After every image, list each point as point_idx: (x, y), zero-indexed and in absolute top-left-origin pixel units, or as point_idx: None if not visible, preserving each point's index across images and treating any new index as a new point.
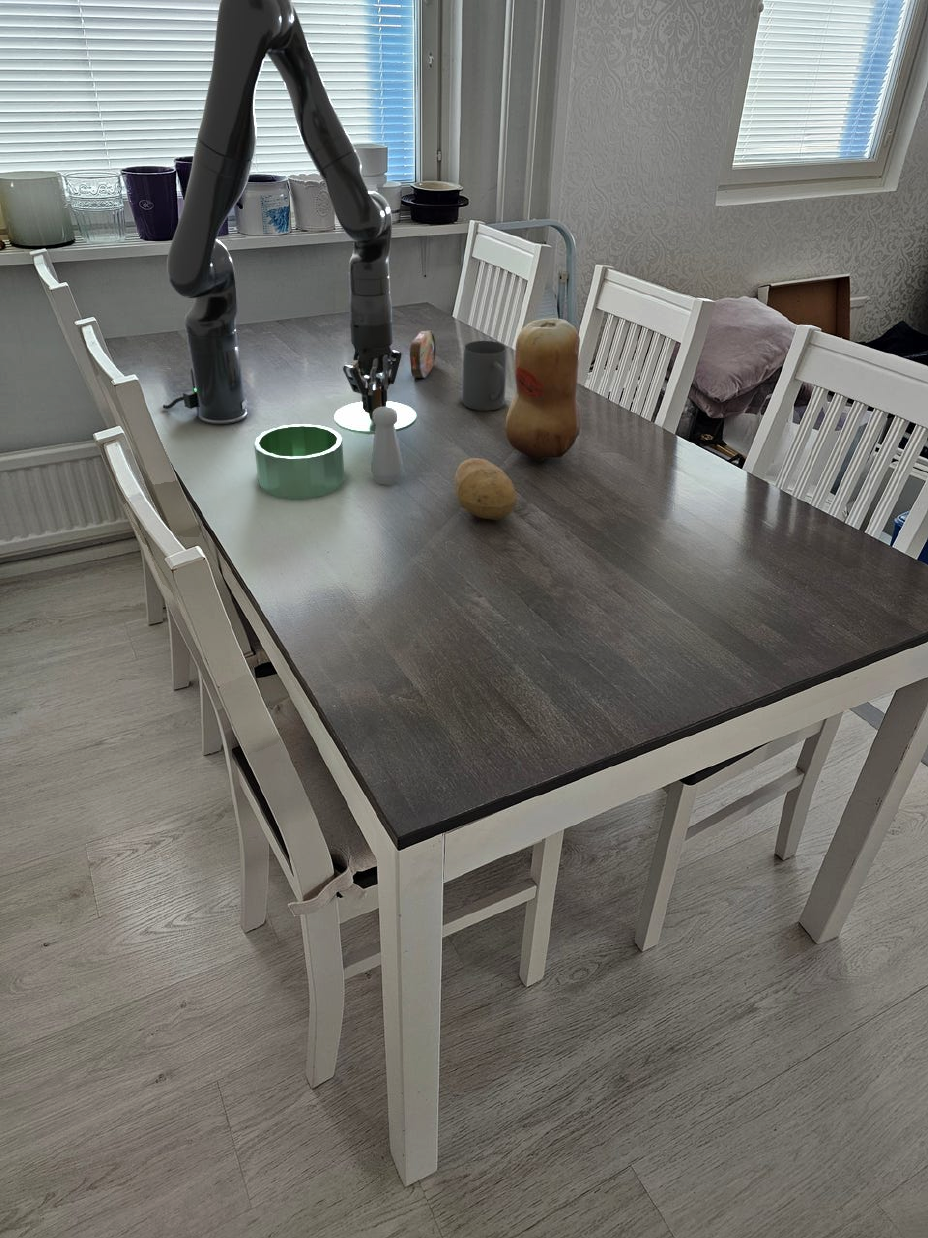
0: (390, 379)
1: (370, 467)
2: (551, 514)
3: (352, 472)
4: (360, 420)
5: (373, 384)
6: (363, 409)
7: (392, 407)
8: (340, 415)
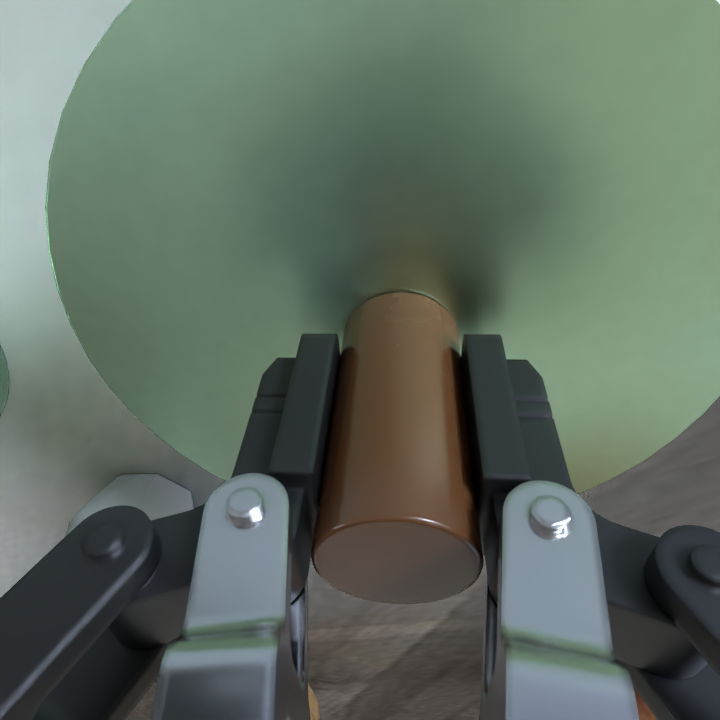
0: (626, 666)
1: (69, 524)
2: (356, 703)
3: (61, 397)
4: (237, 325)
5: (304, 673)
6: (272, 368)
7: (642, 325)
8: (146, 112)
